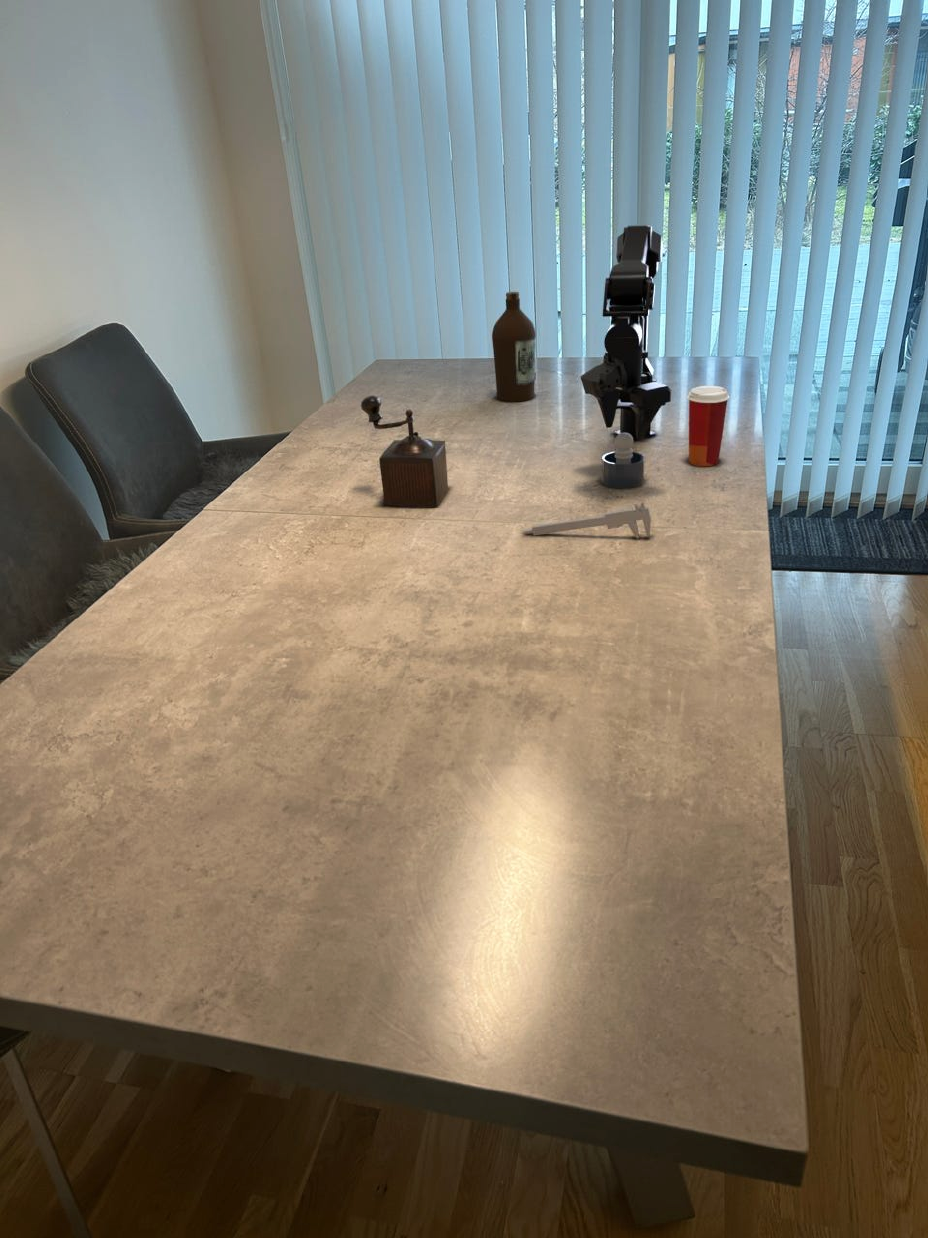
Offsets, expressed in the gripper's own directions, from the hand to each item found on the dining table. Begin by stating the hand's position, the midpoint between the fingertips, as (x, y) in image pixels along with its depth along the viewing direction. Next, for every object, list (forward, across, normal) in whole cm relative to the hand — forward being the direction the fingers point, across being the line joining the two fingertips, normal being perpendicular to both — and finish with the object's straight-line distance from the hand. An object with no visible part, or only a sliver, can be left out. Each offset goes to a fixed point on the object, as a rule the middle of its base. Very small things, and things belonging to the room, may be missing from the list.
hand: (624, 433), depth 163 cm
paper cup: (+10, +1, +19) cm, 21 cm away
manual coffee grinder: (+9, -18, -37) cm, 42 cm away
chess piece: (+9, 0, 0) cm, 9 cm away
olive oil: (+10, -64, +15) cm, 66 cm away
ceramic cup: (+9, 0, 0) cm, 9 cm away
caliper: (+9, +17, -20) cm, 28 cm away
